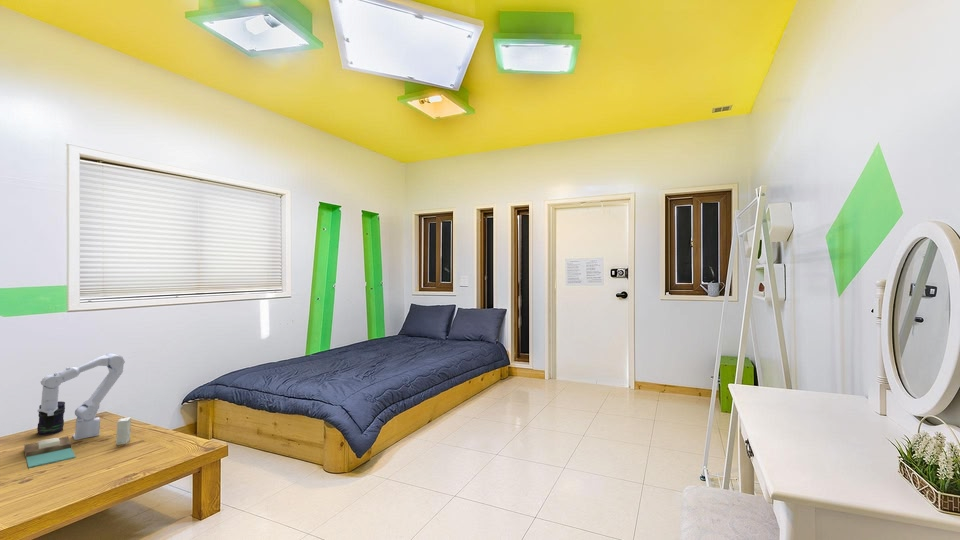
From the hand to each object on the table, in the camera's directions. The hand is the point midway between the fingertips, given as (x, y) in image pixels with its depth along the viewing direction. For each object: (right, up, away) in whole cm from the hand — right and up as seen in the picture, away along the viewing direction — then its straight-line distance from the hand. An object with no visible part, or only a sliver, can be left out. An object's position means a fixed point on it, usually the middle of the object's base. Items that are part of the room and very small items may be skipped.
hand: (47, 426), depth 204 cm
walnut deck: (+4, -10, -4) cm, 11 cm away
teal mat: (+15, -10, -12) cm, 22 cm away
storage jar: (-15, -9, +15) cm, 23 cm away
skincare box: (+31, -12, +8) cm, 34 cm away
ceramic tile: (+6, -7, -5) cm, 11 cm away
